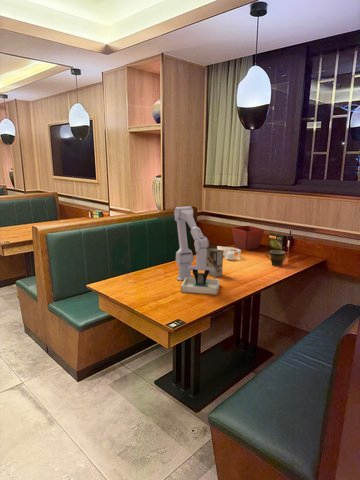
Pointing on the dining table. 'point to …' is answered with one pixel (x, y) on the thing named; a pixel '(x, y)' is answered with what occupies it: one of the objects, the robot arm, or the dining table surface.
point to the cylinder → (200, 279)
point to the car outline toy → (230, 252)
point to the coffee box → (215, 261)
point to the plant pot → (247, 237)
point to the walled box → (192, 287)
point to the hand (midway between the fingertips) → (200, 282)
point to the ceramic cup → (276, 257)
